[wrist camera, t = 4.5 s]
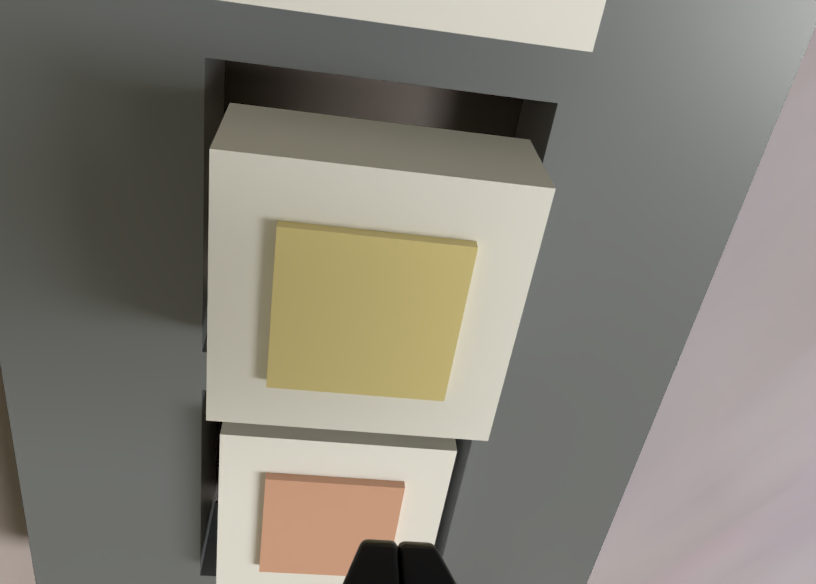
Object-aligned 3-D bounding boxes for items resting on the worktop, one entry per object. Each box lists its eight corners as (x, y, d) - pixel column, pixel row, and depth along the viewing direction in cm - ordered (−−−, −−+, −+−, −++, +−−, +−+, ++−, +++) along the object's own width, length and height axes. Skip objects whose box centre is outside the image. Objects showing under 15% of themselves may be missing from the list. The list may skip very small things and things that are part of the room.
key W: (529, 139, 13) (559, 194, 11) (474, 372, 16) (489, 448, 14) (230, 102, 12) (207, 154, 11) (223, 351, 15) (204, 428, 13)
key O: (447, 391, 18) (457, 457, 16) (416, 535, 21) (421, 606, 19) (233, 374, 18) (218, 441, 16) (227, 524, 20) (214, 597, 18)
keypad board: (939, -516, 11) (1067, -588, 9) (545, 568, 24) (563, 639, 22) (-88, -770, 9) (-209, -930, 7) (70, 543, 22) (41, 618, 20)
